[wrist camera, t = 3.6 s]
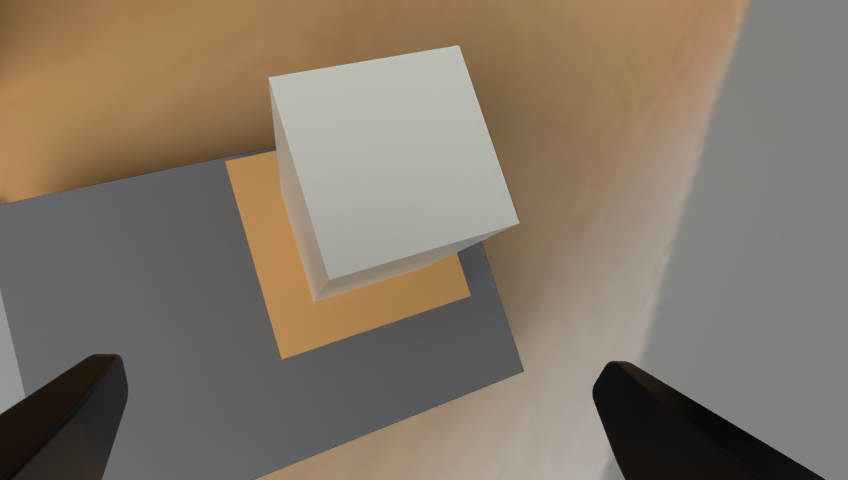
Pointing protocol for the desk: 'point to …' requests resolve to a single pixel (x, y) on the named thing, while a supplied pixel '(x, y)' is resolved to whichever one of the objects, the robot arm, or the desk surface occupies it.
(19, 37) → the desk surface
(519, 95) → the desk surface
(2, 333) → the mat
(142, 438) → the gray slab with hole
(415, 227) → the white and tan block
